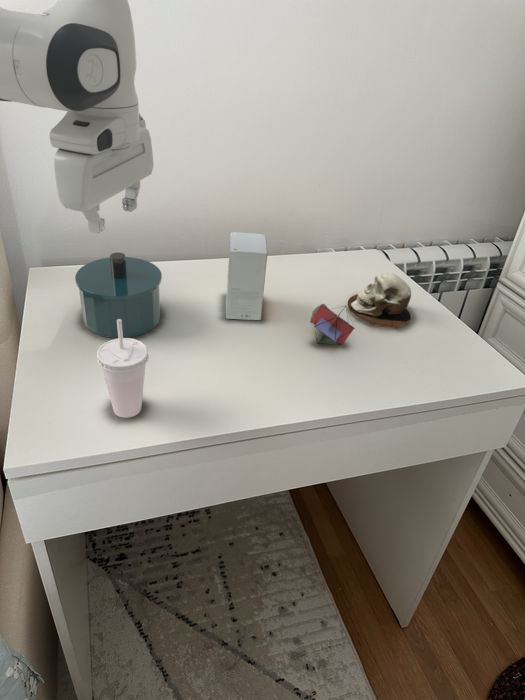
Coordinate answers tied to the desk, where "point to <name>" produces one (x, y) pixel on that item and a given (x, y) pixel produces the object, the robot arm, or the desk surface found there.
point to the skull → (383, 302)
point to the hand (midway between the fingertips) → (114, 219)
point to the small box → (246, 276)
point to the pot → (121, 314)
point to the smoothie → (124, 372)
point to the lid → (118, 277)
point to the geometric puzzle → (331, 324)
